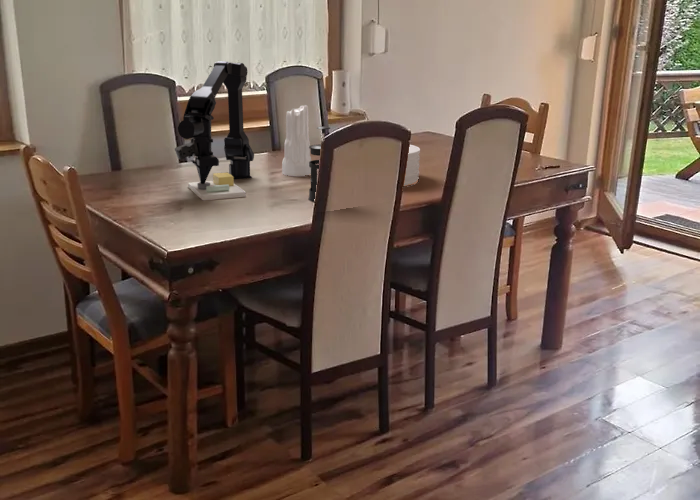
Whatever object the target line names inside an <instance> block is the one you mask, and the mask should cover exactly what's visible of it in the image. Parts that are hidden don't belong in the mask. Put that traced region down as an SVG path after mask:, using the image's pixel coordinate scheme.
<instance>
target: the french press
mask: <svg viewBox="0 0 700 500" xmlns="http://www.w3.org/2000/svg"><path fill="white" fill-rule="evenodd" d="M316 129H318V130H321V133H322V140H323V139H324V140H325V134H326V130H330V129H331V127H330V126H323V125H322V126H317V127H316ZM309 148H310V155H312V156H316V157H317V156H319V157H320V149H321V144H312V145H311V144H310V146H309ZM319 160H320V159H313V160H311V161H310V162H309V167H310V168H311V175H310V179H309V181H310V187H309V189H308V196H309V197H308V201H309V202H313V203H315V202H314V199H315V192H316V185H317V186H318V184H317V177H318V170H320V169H319V165H320V164H319Z"/></svg>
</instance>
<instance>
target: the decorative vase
mask: <svg viewBox="0 0 700 500" xmlns="http://www.w3.org/2000/svg"><path fill="white" fill-rule="evenodd" d="M308 106H309V105H308V104H304V105H299V107H298V108H295V107H292V108H291V110H287V111H286V115H285V126H286V127H285V140H284V157H283V158H282V161H281V162H282V163H281V174H282V175H283V174H284V175H283V176H287V175H288V176H287V177H306V176H305V175H309V174H311V168H310V167H309V162H310V161H312V157H311V149H310V148H309V146H311V139H310V136H309V135H310V131H309V130H310V129H309V127H310V121H309V120H310V113H309V107H308ZM309 176H310V175H309Z"/></svg>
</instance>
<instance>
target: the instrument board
mask: <svg viewBox="0 0 700 500" xmlns="http://www.w3.org/2000/svg"><path fill="white" fill-rule="evenodd" d="M212 179H213V180H206V181H205V183H204V184H201V183H200V181H193V182H192V181H191V182H187V188H188V189H189V190H191V192H193V193H194V195H196V196H197V197H198V198H199V199H200V200H201V201H211V200H212V201H213V200H223V199H234V198H235V199H237V198H247V192H246V191H245V190H244V189H243V188H242V187H240V186H239V185H237V184H235V182H234V181H235V179H234V178H233V176H232V175H231V174H229V172H227V171H226V172H215V173H212Z"/></svg>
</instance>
